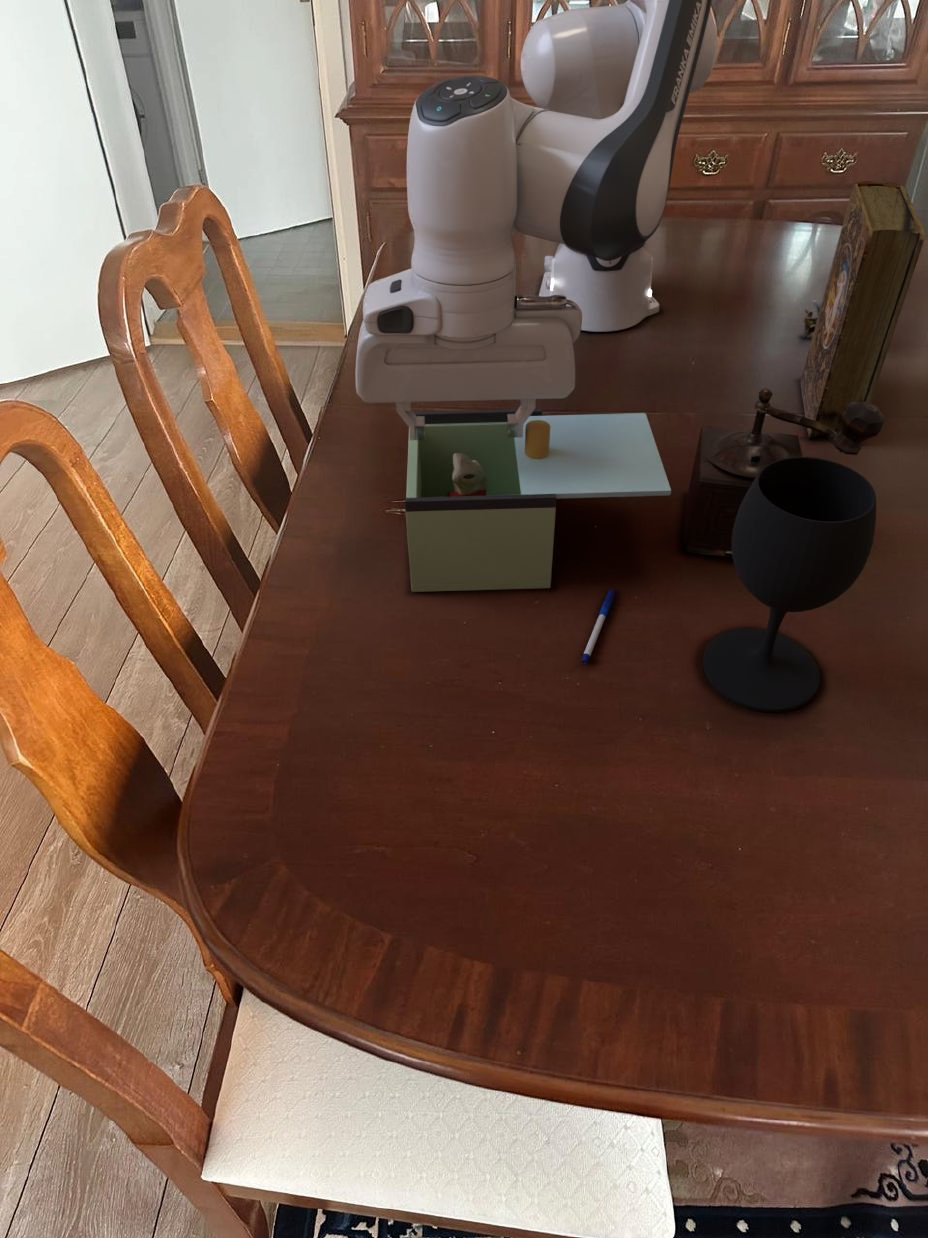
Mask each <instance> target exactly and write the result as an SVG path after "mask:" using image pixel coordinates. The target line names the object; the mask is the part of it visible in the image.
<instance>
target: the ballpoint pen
mask: <svg viewBox="0 0 928 1238" xmlns="http://www.w3.org/2000/svg"><path fill="white" fill-rule="evenodd" d="M615 594H616V591H615V589H614V588H613V587H612V588H611V589H609V590H608V591H607V594H606V596H605V598H604V601H603V604H602V606H601V607H600V611H599V613H598V618H597V619H596V621H595V624H594V627H593V629H592V632H591V635H590V637H589V639H588V642H587V644H586V647H585V650H584V652H583V655H582V661H581V662H582V663H583V664H586V663H587V662H588V660H590V657H591V655H592V652H593V651H594V647H595V645H596V643H597V640H598V637H599V635H600V632H601V630H602V627H603V625H604V622H605V620H606V618H607V616H608V613H609V612H610V608H611V606H612V604H613V601H614V597H615Z"/></svg>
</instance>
